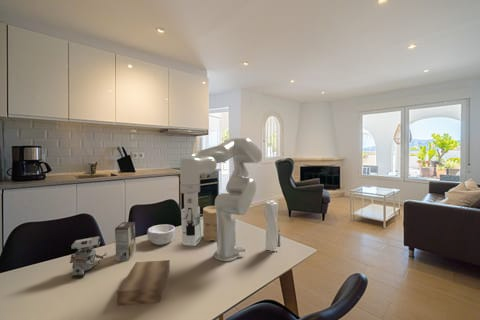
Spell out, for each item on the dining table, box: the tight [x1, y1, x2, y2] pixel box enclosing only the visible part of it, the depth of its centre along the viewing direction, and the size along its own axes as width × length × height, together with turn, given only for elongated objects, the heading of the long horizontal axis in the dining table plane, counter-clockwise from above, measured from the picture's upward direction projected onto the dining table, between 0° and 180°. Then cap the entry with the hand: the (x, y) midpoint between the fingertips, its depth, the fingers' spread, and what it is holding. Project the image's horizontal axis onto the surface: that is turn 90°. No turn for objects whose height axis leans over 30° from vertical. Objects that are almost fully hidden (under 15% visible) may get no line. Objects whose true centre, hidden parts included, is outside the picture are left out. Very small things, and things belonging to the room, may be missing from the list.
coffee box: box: [114, 221, 137, 262], centre depth 112 cm, size 9×6×16 cm
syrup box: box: [180, 205, 202, 247], centre depth 90 cm, size 6×6×14 cm
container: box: [202, 205, 217, 242], centre depth 136 cm, size 13×13×18 cm
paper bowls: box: [147, 224, 176, 246], centre depth 130 cm, size 15×15×8 cm
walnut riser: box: [116, 259, 171, 306], centre depth 88 cm, size 14×20×5 cm
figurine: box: [69, 235, 108, 279], centre depth 97 cm, size 9×12×15 cm
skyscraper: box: [264, 199, 282, 252], centre depth 120 cm, size 8×8×28 cm
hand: (191, 231), depth 90 cm, fingers closed on syrup box, 7 cm apart
